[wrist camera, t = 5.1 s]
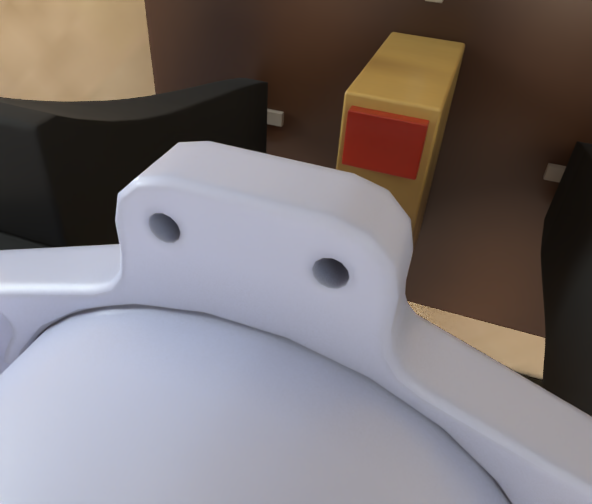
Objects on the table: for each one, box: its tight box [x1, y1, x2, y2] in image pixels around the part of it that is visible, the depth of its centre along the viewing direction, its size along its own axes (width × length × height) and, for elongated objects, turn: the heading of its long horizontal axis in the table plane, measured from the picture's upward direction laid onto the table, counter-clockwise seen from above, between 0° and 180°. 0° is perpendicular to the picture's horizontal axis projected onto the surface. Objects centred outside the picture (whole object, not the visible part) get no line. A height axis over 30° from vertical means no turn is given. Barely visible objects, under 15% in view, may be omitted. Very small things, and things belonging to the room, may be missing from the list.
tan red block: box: [336, 32, 465, 263], centre depth 11 cm, size 5×2×4 cm, turn 176°
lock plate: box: [144, 0, 592, 338], centre depth 14 cm, size 14×10×3 cm
